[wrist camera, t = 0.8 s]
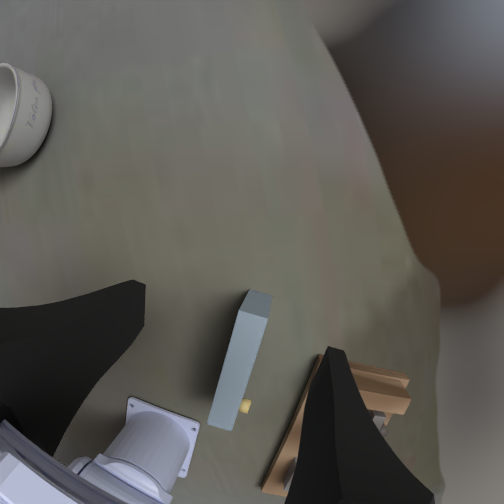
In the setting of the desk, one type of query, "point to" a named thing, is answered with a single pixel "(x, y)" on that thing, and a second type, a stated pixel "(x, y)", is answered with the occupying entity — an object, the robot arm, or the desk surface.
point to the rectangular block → (240, 360)
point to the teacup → (22, 115)
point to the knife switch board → (376, 401)
